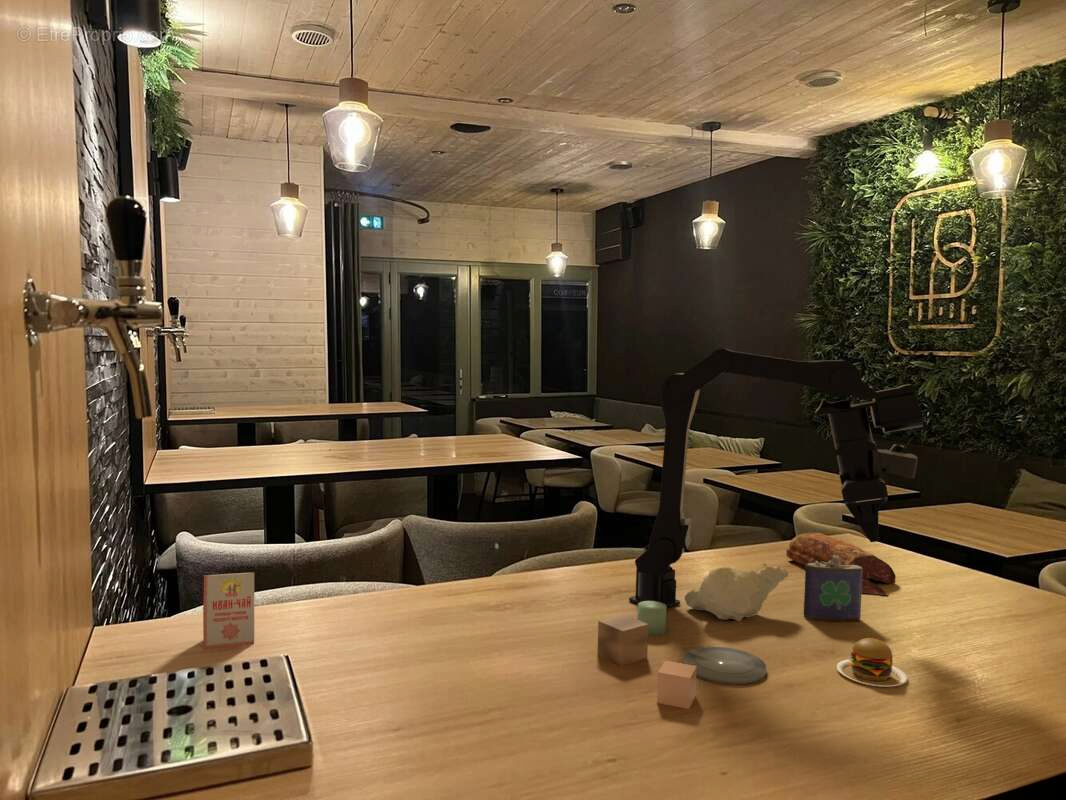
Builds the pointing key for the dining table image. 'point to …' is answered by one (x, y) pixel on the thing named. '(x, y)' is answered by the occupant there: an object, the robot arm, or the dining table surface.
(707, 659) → the saucer
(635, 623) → the walnut block
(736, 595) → the white lumpy piece
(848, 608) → the flask
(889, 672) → the hamburger
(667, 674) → the terracotta block
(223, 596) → the tea box
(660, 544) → the robot arm
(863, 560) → the cured meat
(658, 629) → the green tin
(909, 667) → the dining table surface
